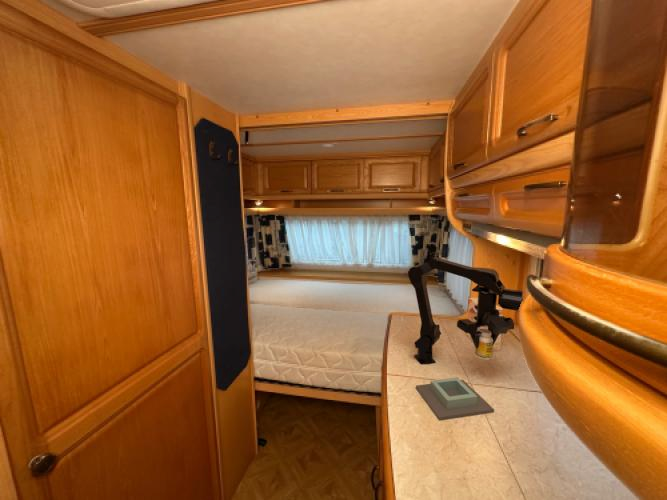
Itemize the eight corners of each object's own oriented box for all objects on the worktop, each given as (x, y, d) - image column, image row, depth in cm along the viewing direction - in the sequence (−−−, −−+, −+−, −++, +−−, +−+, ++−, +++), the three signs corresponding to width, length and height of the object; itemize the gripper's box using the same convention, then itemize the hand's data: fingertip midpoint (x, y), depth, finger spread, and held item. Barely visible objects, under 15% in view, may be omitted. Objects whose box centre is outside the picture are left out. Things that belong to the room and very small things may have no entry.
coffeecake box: (465, 336, 133) (468, 297, 130) (479, 335, 133) (482, 297, 130) (485, 351, 118) (487, 308, 115) (500, 351, 118) (503, 308, 116)
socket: (415, 388, 94) (416, 377, 94) (462, 382, 97) (463, 371, 97) (439, 420, 80) (439, 408, 79) (493, 412, 82) (494, 400, 82)
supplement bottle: (479, 350, 101) (481, 326, 100) (494, 357, 97) (496, 331, 96) (471, 355, 98) (473, 330, 97) (486, 361, 94) (488, 335, 93)
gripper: (478, 315, 86) (475, 361, 88) (529, 311, 89) (525, 356, 91) (457, 304, 97) (454, 345, 99) (503, 300, 100) (500, 340, 102)
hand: (483, 346), depth 97 cm, fingers closed on supplement bottle, 5 cm apart
